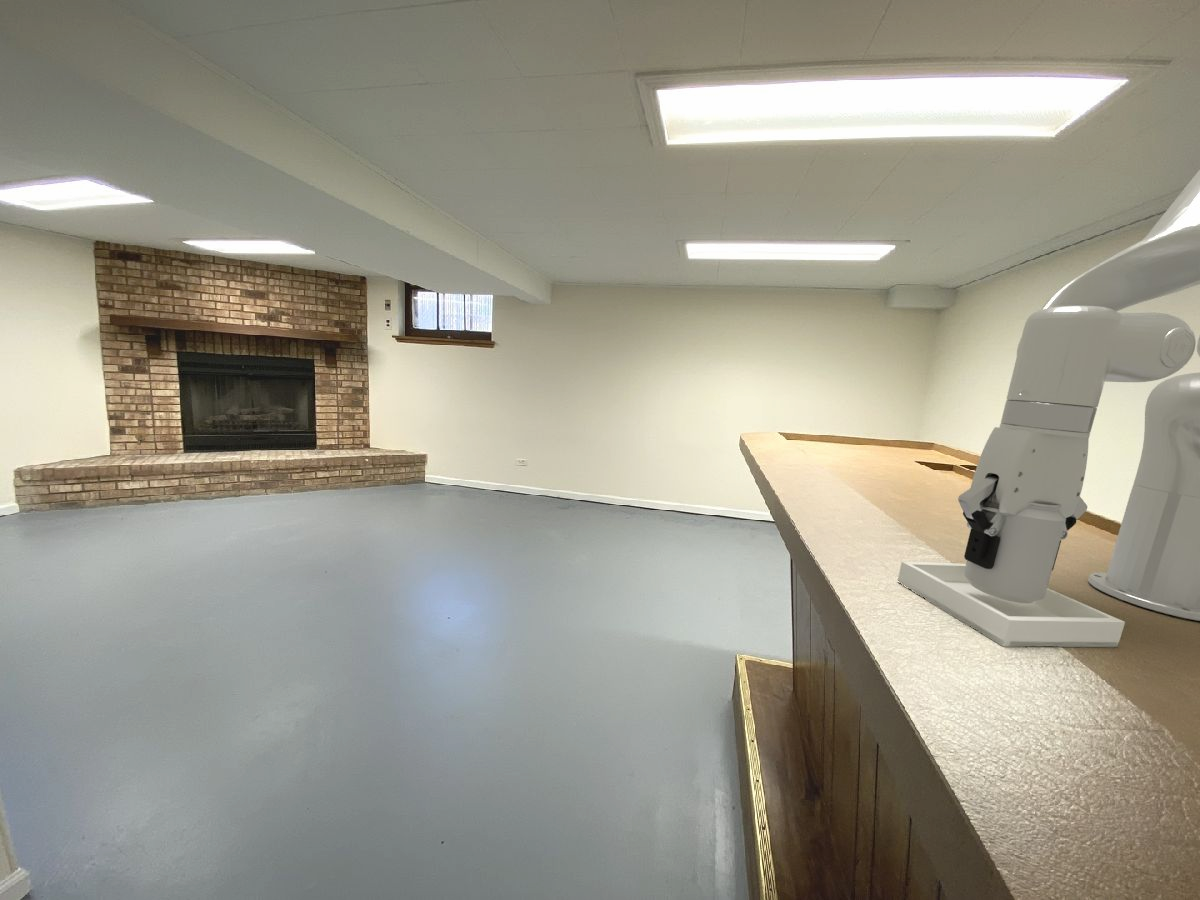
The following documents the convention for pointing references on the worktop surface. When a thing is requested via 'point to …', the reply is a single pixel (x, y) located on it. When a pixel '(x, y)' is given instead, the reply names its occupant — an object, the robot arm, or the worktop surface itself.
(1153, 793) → the worktop surface
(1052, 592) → the tray
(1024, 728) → the worktop surface
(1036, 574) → the can
